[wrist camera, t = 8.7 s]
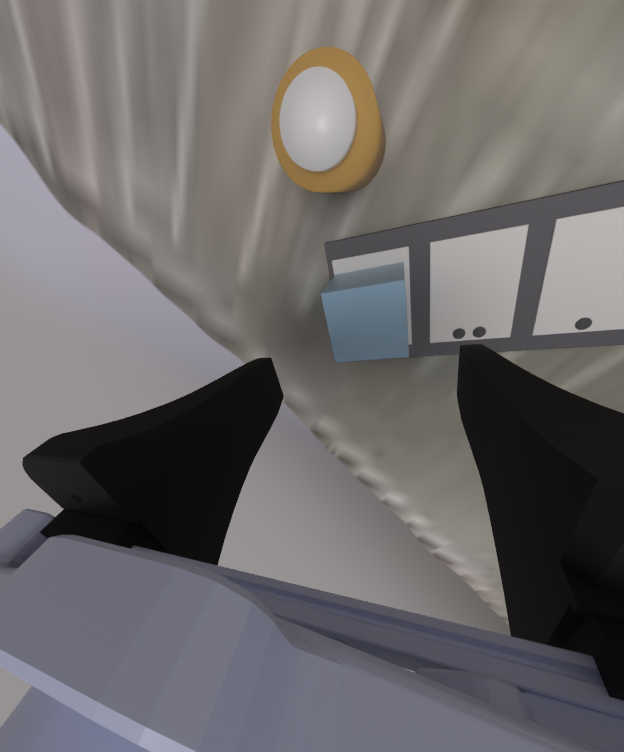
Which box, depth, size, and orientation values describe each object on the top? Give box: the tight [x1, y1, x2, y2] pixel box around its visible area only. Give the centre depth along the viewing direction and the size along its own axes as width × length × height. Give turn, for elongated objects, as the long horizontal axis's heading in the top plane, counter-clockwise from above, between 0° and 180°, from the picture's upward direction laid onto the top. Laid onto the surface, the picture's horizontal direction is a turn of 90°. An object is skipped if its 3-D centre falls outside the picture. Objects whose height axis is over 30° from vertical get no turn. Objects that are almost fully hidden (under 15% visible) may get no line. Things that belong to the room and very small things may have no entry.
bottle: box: [271, 47, 386, 192], centre depth 11 cm, size 4×4×7 cm
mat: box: [325, 181, 624, 357], centre depth 16 cm, size 8×16×1 cm, turn 102°
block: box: [321, 262, 409, 362], centre depth 16 cm, size 4×4×4 cm
